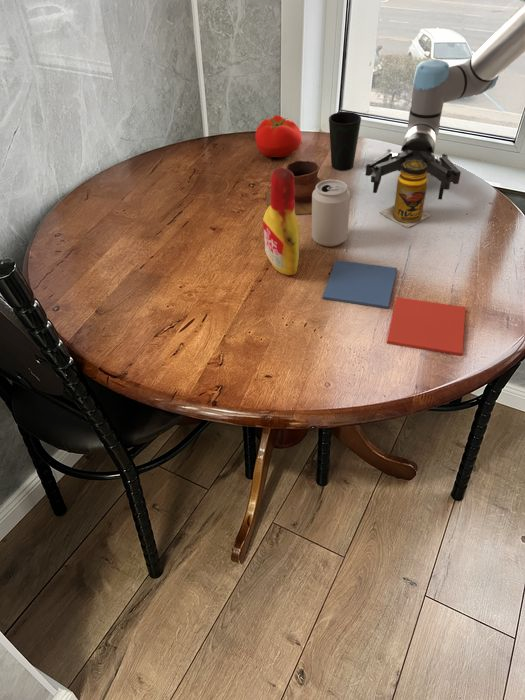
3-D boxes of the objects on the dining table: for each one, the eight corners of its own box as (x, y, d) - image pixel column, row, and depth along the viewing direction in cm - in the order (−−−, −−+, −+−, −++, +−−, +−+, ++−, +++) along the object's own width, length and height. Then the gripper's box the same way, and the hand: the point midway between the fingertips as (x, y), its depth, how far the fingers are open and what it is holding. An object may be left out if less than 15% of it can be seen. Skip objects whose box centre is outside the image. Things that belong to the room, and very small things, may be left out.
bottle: (306, 278, 104) (307, 181, 90) (274, 284, 103) (270, 187, 89) (291, 245, 113) (289, 152, 99) (261, 250, 112) (255, 157, 98)
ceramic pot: (265, 216, 121) (264, 187, 117) (264, 179, 134) (263, 152, 129) (346, 212, 121) (347, 183, 116) (336, 175, 134) (338, 148, 129)
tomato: (297, 165, 139) (297, 132, 133) (250, 162, 142) (248, 130, 136) (305, 144, 148) (306, 112, 142) (261, 142, 150) (260, 110, 144)
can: (316, 227, 117) (317, 175, 109) (350, 232, 115) (354, 179, 107) (307, 245, 112) (307, 192, 104) (342, 251, 110) (346, 197, 102)
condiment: (407, 228, 115) (416, 175, 107) (378, 213, 120) (384, 161, 112) (430, 216, 118) (440, 164, 110) (401, 202, 123) (408, 150, 115)
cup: (326, 159, 141) (328, 112, 132) (356, 158, 140) (359, 111, 132) (328, 173, 135) (329, 124, 127) (358, 172, 135) (362, 123, 126)
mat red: (465, 309, 95) (465, 306, 95) (461, 355, 87) (462, 353, 87) (396, 299, 98) (396, 296, 98) (386, 343, 90) (387, 340, 90)
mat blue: (396, 270, 104) (397, 267, 104) (388, 308, 96) (388, 306, 96) (335, 262, 107) (335, 259, 107) (322, 298, 99) (322, 296, 99)
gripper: (469, 167, 128) (465, 212, 113) (364, 158, 134) (347, 200, 120) (477, 136, 122) (473, 179, 108) (367, 128, 129) (350, 168, 114)
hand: (407, 190), depth 114 cm, fingers open, 13 cm apart
